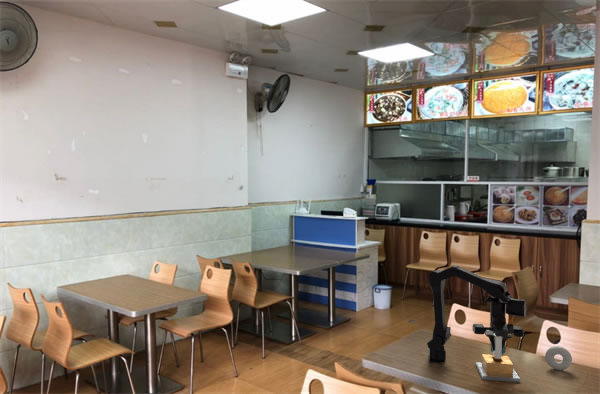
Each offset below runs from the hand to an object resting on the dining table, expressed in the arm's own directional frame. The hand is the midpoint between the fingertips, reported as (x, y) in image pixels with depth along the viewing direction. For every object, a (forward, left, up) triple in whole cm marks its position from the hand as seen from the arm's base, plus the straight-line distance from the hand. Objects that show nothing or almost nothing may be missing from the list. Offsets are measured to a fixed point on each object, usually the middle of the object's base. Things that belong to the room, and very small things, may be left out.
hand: (497, 350), depth 188 cm
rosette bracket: (0, 0, -10) cm, 10 cm away
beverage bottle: (+5, +22, -10) cm, 25 cm away
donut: (+26, +9, -10) cm, 29 cm away
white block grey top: (0, 0, -3) cm, 3 cm away
